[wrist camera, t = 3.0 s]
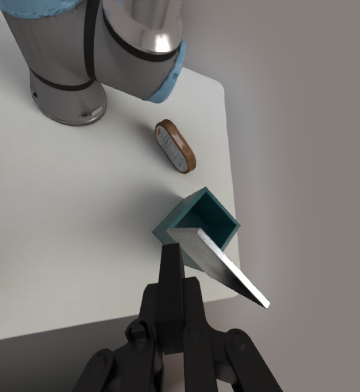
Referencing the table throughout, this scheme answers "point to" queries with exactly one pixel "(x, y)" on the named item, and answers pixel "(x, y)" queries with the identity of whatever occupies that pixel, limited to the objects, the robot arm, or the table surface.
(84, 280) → the table surface
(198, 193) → the box
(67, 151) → the table surface
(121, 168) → the table surface
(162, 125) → the tin
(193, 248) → the box lid
